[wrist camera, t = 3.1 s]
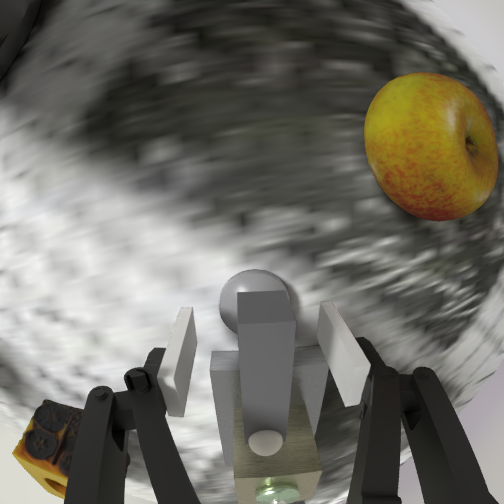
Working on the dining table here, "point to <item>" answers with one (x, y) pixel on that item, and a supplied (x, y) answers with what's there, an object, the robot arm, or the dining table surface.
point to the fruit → (431, 146)
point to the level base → (232, 389)
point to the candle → (51, 445)
